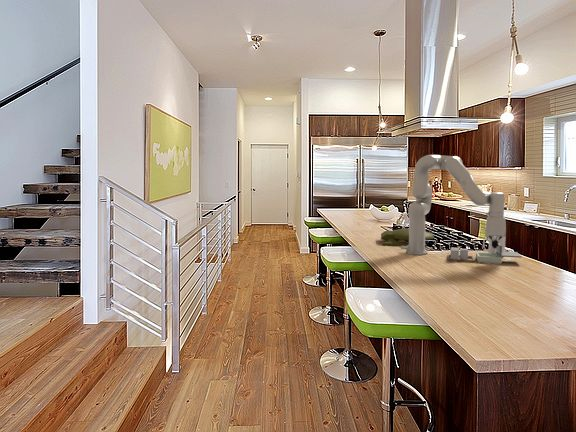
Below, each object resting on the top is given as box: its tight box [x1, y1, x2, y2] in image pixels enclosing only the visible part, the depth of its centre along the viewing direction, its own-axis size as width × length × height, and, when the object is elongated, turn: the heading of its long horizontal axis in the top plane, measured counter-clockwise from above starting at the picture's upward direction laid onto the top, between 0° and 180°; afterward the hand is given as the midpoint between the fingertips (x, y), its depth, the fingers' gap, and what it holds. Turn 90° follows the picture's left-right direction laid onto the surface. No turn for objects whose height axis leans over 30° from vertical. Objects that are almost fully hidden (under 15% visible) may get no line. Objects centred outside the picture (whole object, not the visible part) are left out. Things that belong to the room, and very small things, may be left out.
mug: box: [482, 236, 507, 253], centre depth 287 cm, size 12×9×11 cm
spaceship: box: [380, 227, 435, 247], centre depth 332 cm, size 35×31×10 cm
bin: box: [475, 251, 503, 265], centre depth 272 cm, size 12×12×4 cm
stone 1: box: [450, 246, 460, 259], centre depth 278 cm, size 4×4×6 cm
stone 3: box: [459, 248, 469, 260], centre depth 275 cm, size 4×4×6 cm
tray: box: [446, 254, 476, 263], centre depth 276 cm, size 14×13×1 cm
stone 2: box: [449, 248, 460, 259], centre depth 273 cm, size 4×4×6 cm
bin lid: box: [494, 243, 522, 259], centre depth 268 cm, size 12×12×6 cm
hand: (494, 247), depth 270 cm, fingers closed
